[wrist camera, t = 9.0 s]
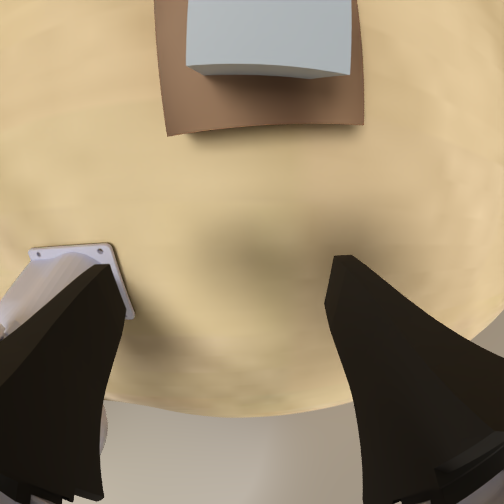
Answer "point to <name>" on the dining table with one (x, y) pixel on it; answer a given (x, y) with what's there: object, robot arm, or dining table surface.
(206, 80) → the walnut block
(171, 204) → the dining table surface
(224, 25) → the gray cube
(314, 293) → the dining table surface
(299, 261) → the dining table surface
